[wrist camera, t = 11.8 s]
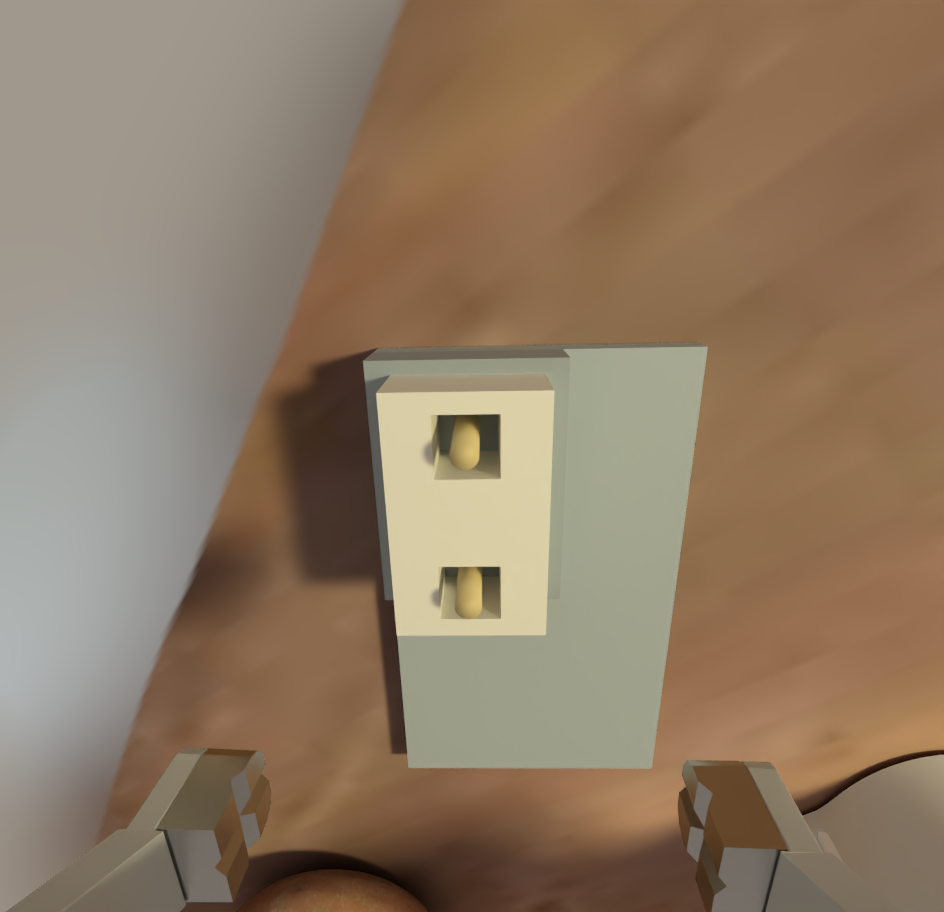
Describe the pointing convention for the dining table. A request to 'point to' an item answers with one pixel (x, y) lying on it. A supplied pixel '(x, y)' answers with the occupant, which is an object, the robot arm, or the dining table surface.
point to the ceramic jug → (333, 894)
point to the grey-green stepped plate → (561, 563)
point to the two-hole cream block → (468, 501)
